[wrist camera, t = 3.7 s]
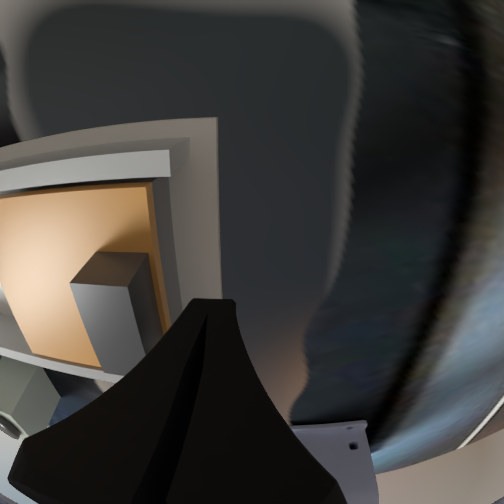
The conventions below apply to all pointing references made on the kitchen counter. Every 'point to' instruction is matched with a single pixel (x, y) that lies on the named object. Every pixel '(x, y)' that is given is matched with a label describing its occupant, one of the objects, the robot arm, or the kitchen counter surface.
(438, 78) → the kitchen counter surface
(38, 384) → the plug
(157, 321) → the shutter
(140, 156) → the socket panel
